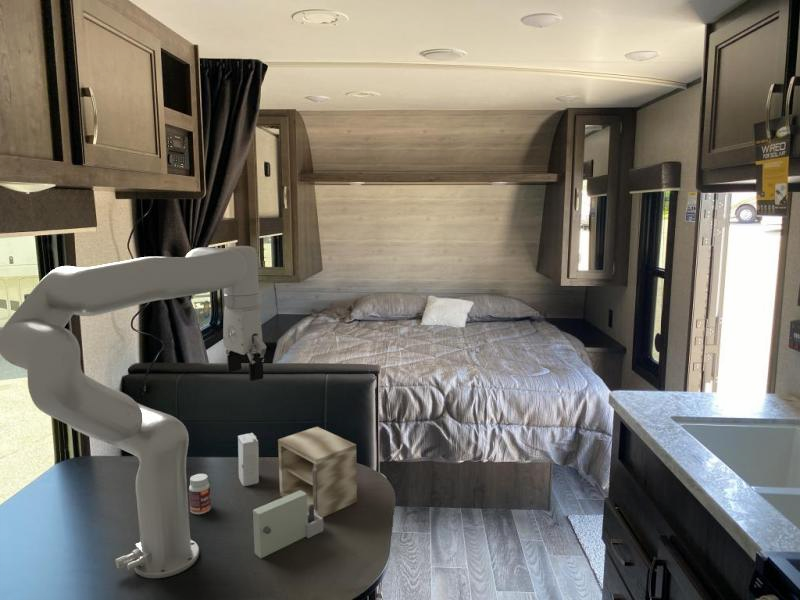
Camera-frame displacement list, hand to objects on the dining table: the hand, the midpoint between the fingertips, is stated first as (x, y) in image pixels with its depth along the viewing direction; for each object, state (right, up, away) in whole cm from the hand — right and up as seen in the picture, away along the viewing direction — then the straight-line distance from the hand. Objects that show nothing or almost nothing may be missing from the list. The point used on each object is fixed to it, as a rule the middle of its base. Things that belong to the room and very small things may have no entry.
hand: (245, 374), depth 131 cm
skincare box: (-5, -31, +22) cm, 38 cm away
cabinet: (+15, -33, +10) cm, 38 cm away
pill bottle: (-13, -34, +7) cm, 37 cm away
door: (+11, -36, -6) cm, 38 cm away
